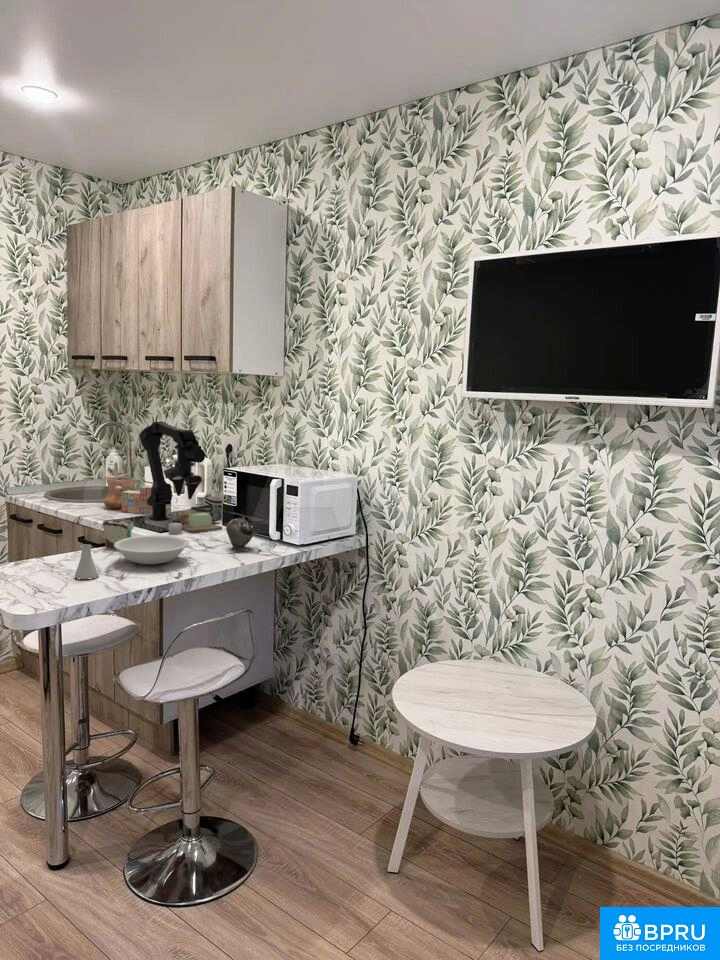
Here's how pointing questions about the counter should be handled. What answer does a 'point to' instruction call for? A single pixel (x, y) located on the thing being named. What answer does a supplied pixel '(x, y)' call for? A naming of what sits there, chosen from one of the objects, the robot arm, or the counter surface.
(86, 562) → the flask
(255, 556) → the counter surface
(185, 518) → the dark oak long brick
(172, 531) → the grey plastic cylinder
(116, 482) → the ceramic jug
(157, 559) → the soup bowl
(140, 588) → the counter surface
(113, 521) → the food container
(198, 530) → the walnut board
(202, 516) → the sage green brick
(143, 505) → the stack of blocks
